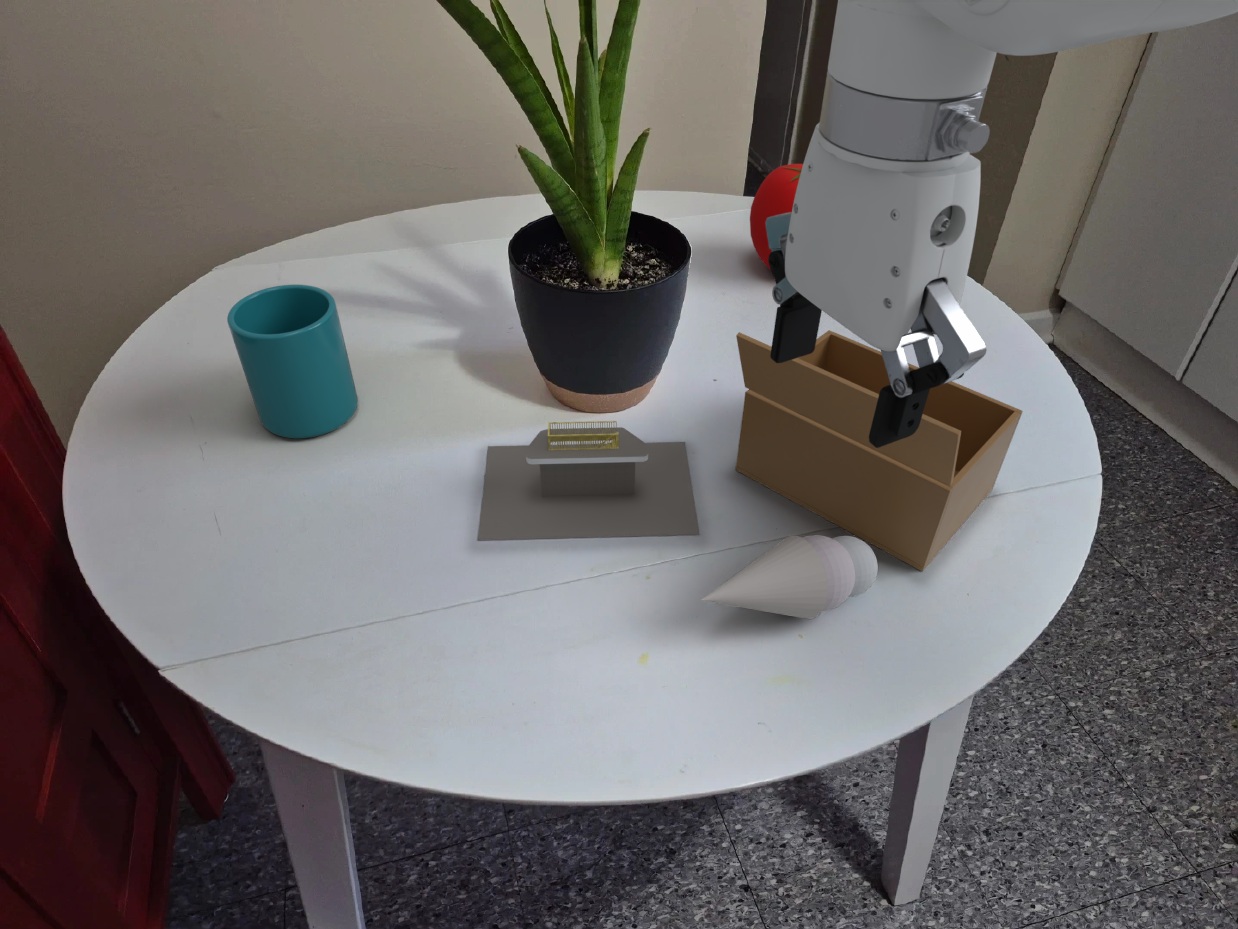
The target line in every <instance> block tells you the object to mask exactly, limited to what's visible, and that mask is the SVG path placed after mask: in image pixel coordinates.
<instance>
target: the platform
mask: <svg viewBox="0 0 1238 929" xmlns="http://www.w3.org/2000/svg"><path fill="white" fill-rule="evenodd" d="M605 423H606V427H604V424H605ZM613 423H615V426H613ZM563 424H565V426H563ZM579 424H581V427H579ZM588 424H590V427H588ZM597 424H599V427H595V425H597ZM617 424H618V422H617V420H591V421H589V420H588V421H554V422H553V421H548V423H547V428H546V429H543V430H540V431H539V432H538V433H537V434H536V436H535V437H534V438H533V440H532V441H531V442H530V443H529V444H528V445H488V446H487V454H486V464H485V473H484V481H483V482H484V483H483V490H482V498H481V500H482V501H481V507H480V508H481V509H480V516H479V517H480V518H479V526H478V535H477V541H506V540H508V541H509V540H511V541H512V540H547V539H549V540H550V539H583V538H586V539H587V538H590V539H591V538H620V537H621V538H622V537H623V538H624V537H625V538H627V537H628V538H629V537H661V536H663V537H665V536H666V537H667V536H697V535H698V536H699V535H700V534H701V533H700V527H699V522H698V515H697V509H696V502H695V497H694V496H695V495H694V489H693V483H692V477H691V471H690V465H689V458H688V457H689V456H688V452H687V444H686V441H666V442H665V441H663V442H657V441H656V442H645V441H643V440H642V439H640V438H639V437H637V436H636V435H635V434H633V433H632V432H630V431H629V430H628V429H626V428H624V427H622V426H619V427H618V425H617ZM570 425H572V427H570ZM554 426H556V428H554ZM585 442H586V443H585ZM593 442H594V443H593Z"/></svg>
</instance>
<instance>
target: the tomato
mask: <svg viewBox="0 0 1238 929" xmlns="http://www.w3.org/2000/svg"><path fill="white" fill-rule="evenodd" d="M802 167H803V163H789V164H784V165H781V166H778V167H776V168H775V169H774V170H773V171H771V172H770V173H768V174H767V175H766V177H765V178H764V180H762V183H760V186H759V187H758V189H757V191H756V193H755V195H754V197H753V200H752V203H751V206H750V213H749V229H750V230H749V231H750V232H749V233H750V238H751V241H752V245H753V248H754V249H755V252H756V254H757V257H758V258H759V260H760V261H761V262H762V263H763V264H764V265H765V267H766V268H767V269H768V270H770V271H771V268H770V265H769V261H768V258H769V254H770V253H771V252H772V250H771V249H769V243H768V237H767V231H766V219H767V218H768V217H771V216H775V215H779V214H784V213H789V212H792V209H793V204H794V199H795V194H796V190H797V186H798V182H799V178H800V174H801V171H802Z"/></svg>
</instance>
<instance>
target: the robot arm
mask: <svg viewBox="0 0 1238 929" xmlns="http://www.w3.org/2000/svg"><path fill="white" fill-rule="evenodd" d="M1237 13H1238V0H837V5H836V12H835V18H834V23H833V24H834V26H833V32H832V38H831V43H830V44H831V45H830V51H829V57H828V64H827V71H826V78H825V85H824V91H823V99H822V103H821V110H820V115H819V116H820V117H819V122H818V123H817V124H816V125H815V127H814V130H813V132H812V135H811V138H810V141H809V144H808V148H807V151H806V153H805V157H804V160H803V163H802V164H803V167H802V171H801V174H800V178H799V182H798V186H797V190H796V194H795V199H794V204H793V209H792V212H789V213H784V214H779V215H775V216H771V217H768V218H767V219H766V231H767V237H768V243H769V249H771V250H772V252H771V253H770V254H769V258H768V261H769V265H770V268H771V270H770V272H771V273H772V276H773V279H774V282H775V285H774V286H773V287H772V291H771V292H772V293H771V294H772V299H773V301H774V303H775V304H777V305H779V306H777V307H776V312H775V313H776V314H775V320H774V327H773V335H772V342H771V347H772V348H771V355H770V357H771V359H772V360H773V361H775V362H776V363H783V362H786V361H789V360H792V359H795V358H798V357H802V356H805V355H808V354H811V353H812V352H813V351H814V350H815V345H816V340H817V339H818V333H819V328H820V323H821V316H822V312H823V313H824V314H826V315H827V316H828V317H830V318H831V319H833V320H834V321H836V322H837V323H839V324H840V325H841V326H843V327H844V328H845V329H847V330H848V331H849V332H851V333H852V334H854V335H855V336H857V337H858V338H860V339H861V340H862V341H864V342H866V344H868V345H870V346H872V348H873V347H874V349H876V350H879V351H880V352H881V353H882V356H883V360H884V363H885V367H886V370H887V374H888V377H889V381H890V384H891V385H888V386H885V387H883V388H882V389H881V390H880V393H879V397H878V401H877V405H876V409H875V413H874V417H873V421H872V425H871V429H870V433H869V442H870V443H871V444H872V445H873V446H875V447H876V448H879V447H882V446H885V445H887V444H890V443H893V442H895V441H898V440H900V439H904V438H906V437H909V436H911V435H913V434H914V433H915V432H916V431H917V429H918V427H919V425H920V421H921V418H922V414H923V411H924V408H925V404H926V401H927V397H928V394H929V391H930V388H933V387H937V386H939V385H942V384H945V383H948V382H951V381H952V382H954V381H956V380H959V379H961V378H963V376H964V375H965V372H968V371H969V370H970V369H971V368H972V367H973V366H975V365H976V364H977V363H978V362H980V360H982V358H984V357H985V356H986V354H987V345H986V343H985V341H984V340H983V338H982V336H981V335H980V334H979V332H978V330H977V329H976V327H975V326H974V325H973V323H972V322H971V319H970V318H969V316H968V315H967V314H966V312H965V311H964V309H963V307H962V306H961V302H962V297H963V293H964V290H965V286H966V281H967V278H968V273H969V268H970V262H971V259H972V255H973V254H972V253H973V250H974V249H973V248H974V242H975V236H976V232H977V231H976V229H977V223H978V216H979V208H980V195H981V175H982V173H981V170H982V168H981V167H982V166H981V165H982V162H981V160H979V159H978V158H977V157H975V156H973V155H972V154H977V153H979V152H980V151H982V149H983V148H984V147H985V146H986V145H987V143H988V142H989V141H988V140H989V139H990V135H991V129H990V126H989V125H988V124H986V123H984V122H981V121H980V117H981V112H982V110H983V106H984V101H985V98H986V94H987V90H988V88H989V87H988V85H989V83H990V80H991V75H992V72H993V68H994V64H995V61H996V58H997V53H998V54H1000V55H1007V56H1015V57H1022V56H1023V57H1025V56H1026V57H1027V56H1040V55H1047V54H1052V53H1053V54H1054V53H1058V52H1064V51H1070V50H1073V49H1079V48H1083V47H1089V46H1094V45H1099V44H1103V43H1107V42H1110V41H1115V40H1120V39H1125V38H1126V39H1127V38H1130V37H1136V36H1141V35H1145V34H1146V35H1147V34H1151V33H1158V32H1165V31H1170V30H1176V29H1181V28H1186V27H1187V28H1188V27H1191V26H1196V25H1199V24H1203V23H1207V22H1210V21H1214V20H1218V19H1221V18H1225V17H1227V16H1230V15H1233V14H1237ZM909 331H910V332H909ZM935 336H937V338H938V340H939V341H940V343H941V346H942V351H941V353H939V349H938V346H937V342H936V338H935ZM911 345H912V347H913V350H914V354H915V357H916V361H917V365H918V367H919V368H918V369H915V370H912V371H910V369H909V366H908V363H909V362H908V359H907V355H906V351H905V348H904V347H909V346H911Z"/></svg>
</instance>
